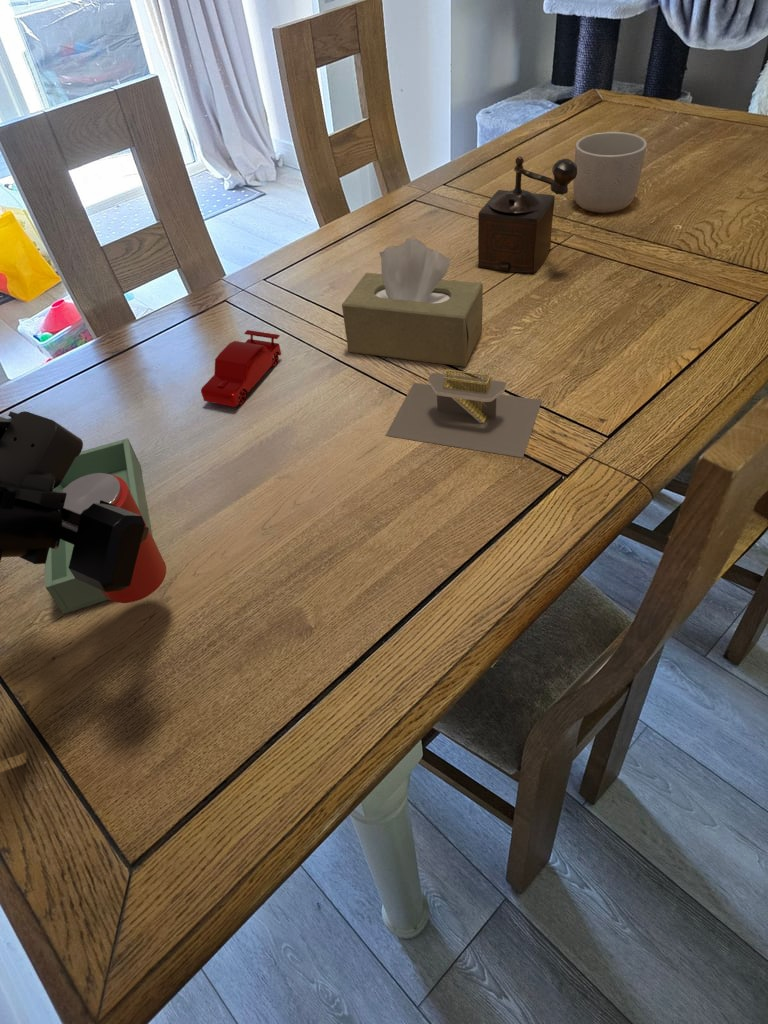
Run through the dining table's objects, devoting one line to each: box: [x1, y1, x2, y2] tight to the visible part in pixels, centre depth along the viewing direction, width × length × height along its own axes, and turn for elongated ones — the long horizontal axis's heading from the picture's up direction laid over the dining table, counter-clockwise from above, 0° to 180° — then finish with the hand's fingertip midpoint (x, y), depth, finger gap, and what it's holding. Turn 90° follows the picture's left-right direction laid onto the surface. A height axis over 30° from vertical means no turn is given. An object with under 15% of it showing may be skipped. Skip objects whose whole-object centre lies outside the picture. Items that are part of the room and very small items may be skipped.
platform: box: [385, 369, 543, 458], centre depth 89 cm, size 12×18×7 cm, turn 70°
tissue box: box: [341, 237, 484, 368], centre depth 100 cm, size 19×10×16 cm, turn 70°
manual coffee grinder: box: [477, 156, 577, 274], centre depth 114 cm, size 16×11×18 cm
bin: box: [44, 438, 153, 615], centre depth 81 cm, size 10×21×5 cm, turn 20°
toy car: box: [200, 329, 282, 408], centre depth 100 cm, size 14×6×5 cm, turn 158°
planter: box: [572, 131, 648, 214], centre depth 129 cm, size 12×12×11 cm
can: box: [62, 473, 167, 604], centre depth 65 cm, size 6×6×12 cm
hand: (120, 522), depth 65 cm, fingers closed on can, 6 cm apart
